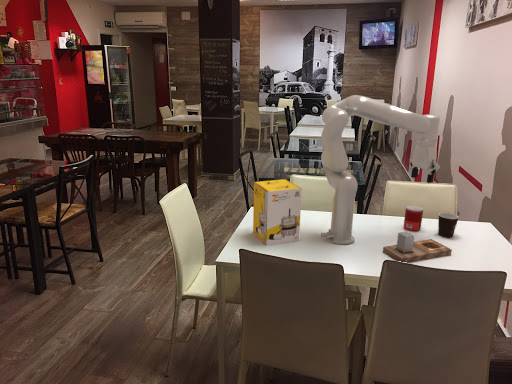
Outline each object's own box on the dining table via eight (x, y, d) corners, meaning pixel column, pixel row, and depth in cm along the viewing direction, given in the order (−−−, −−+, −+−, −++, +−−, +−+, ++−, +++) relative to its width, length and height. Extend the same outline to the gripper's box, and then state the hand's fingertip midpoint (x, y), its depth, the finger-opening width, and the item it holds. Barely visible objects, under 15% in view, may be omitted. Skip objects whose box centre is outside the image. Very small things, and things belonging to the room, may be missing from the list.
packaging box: (266, 245, 184) (267, 191, 177) (253, 232, 199) (253, 182, 192) (299, 240, 190) (301, 188, 183) (283, 228, 205) (285, 179, 197)
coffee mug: (446, 240, 193) (450, 220, 190) (431, 233, 200) (434, 214, 198) (463, 235, 198) (466, 216, 195) (448, 229, 206) (451, 210, 203)
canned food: (422, 231, 203) (425, 210, 199) (406, 231, 203) (408, 210, 200) (417, 226, 210) (420, 205, 207) (401, 225, 210) (403, 205, 207)
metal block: (402, 258, 173) (405, 236, 171) (395, 254, 177) (398, 232, 175) (411, 257, 175) (414, 235, 172) (404, 253, 179) (407, 231, 176)
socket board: (401, 264, 169) (402, 257, 168) (382, 252, 180) (383, 246, 179) (450, 254, 178) (451, 248, 177) (430, 244, 188) (431, 238, 188)
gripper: (406, 140, 191) (402, 176, 196) (435, 146, 176) (429, 185, 181) (419, 139, 194) (414, 174, 199) (448, 145, 179) (442, 184, 184)
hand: (421, 180), depth 190 cm, fingers open, 9 cm apart
